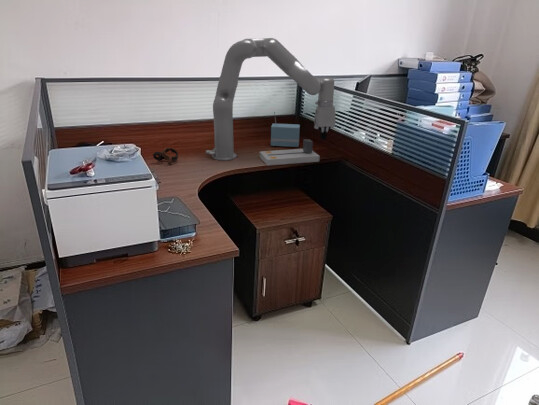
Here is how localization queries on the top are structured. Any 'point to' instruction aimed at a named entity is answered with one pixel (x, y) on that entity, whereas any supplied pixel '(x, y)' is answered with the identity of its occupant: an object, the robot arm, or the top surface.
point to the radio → (285, 135)
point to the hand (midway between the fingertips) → (323, 139)
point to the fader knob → (307, 145)
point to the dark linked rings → (164, 156)
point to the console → (288, 157)
